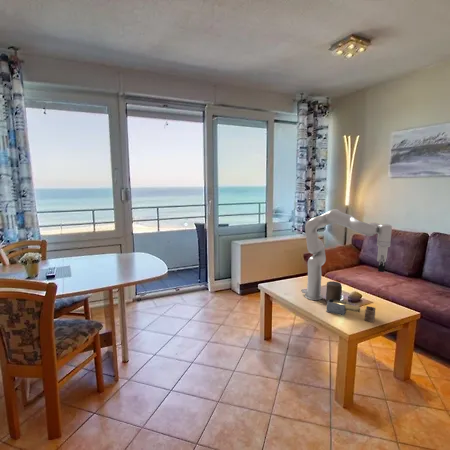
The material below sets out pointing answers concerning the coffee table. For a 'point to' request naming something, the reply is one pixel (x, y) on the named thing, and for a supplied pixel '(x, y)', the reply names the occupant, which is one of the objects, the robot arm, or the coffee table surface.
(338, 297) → the pillar candle
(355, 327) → the coffee table surface
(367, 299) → the coffee table surface
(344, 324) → the coffee table surface
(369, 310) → the socket
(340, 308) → the grey rectangular block
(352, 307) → the tube
